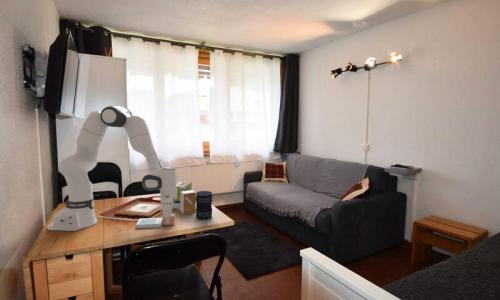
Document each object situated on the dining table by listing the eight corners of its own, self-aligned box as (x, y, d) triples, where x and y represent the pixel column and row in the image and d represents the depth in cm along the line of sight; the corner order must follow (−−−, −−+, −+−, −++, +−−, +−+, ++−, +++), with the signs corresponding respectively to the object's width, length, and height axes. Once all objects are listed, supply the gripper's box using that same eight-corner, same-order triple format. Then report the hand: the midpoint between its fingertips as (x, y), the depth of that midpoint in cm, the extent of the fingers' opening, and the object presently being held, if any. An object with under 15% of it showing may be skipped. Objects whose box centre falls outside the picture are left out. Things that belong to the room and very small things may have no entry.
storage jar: (197, 221, 156) (197, 196, 155) (194, 215, 165) (194, 191, 164) (214, 219, 160) (214, 194, 158) (210, 213, 169) (210, 190, 167)
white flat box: (135, 228, 144) (135, 224, 144) (139, 221, 153) (139, 218, 153) (161, 227, 147) (161, 223, 146) (163, 220, 155) (163, 217, 155)
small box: (183, 214, 167) (183, 193, 166) (180, 211, 172) (179, 191, 171) (195, 212, 171) (195, 192, 170) (192, 209, 177) (192, 189, 175)
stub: (162, 225, 149) (162, 216, 148) (163, 221, 153) (163, 213, 153) (173, 224, 150) (173, 216, 149) (174, 221, 154) (174, 213, 154)
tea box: (178, 201, 193) (178, 181, 191) (192, 202, 191) (192, 181, 190) (169, 208, 178) (169, 186, 176) (184, 209, 177) (184, 187, 175)
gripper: (165, 191, 159) (165, 213, 161) (159, 201, 139) (160, 227, 141) (176, 190, 161) (176, 213, 162) (172, 201, 141) (173, 226, 142)
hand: (169, 219), depth 151 cm, fingers open, 8 cm apart
